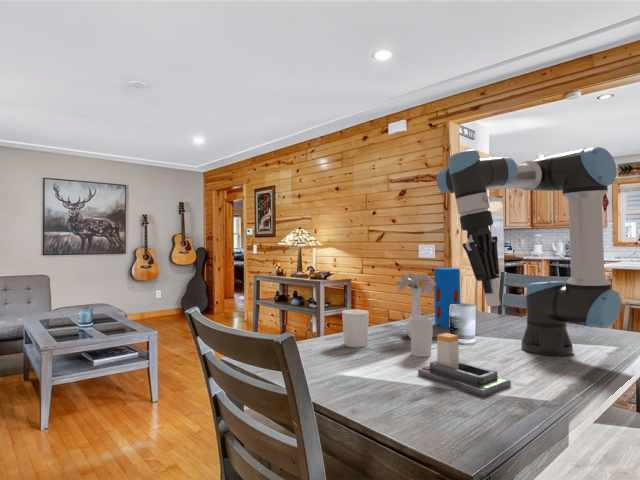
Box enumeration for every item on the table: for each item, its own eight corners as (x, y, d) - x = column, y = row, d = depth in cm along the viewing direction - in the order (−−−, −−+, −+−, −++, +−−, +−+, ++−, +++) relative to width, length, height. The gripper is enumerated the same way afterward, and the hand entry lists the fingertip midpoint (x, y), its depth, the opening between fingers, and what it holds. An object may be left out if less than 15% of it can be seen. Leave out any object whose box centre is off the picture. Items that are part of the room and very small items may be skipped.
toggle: (437, 368, 112) (437, 334, 112) (446, 366, 114) (446, 332, 114) (449, 372, 109) (449, 337, 109) (458, 369, 111) (458, 335, 111)
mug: (423, 358, 128) (423, 320, 128) (406, 354, 133) (405, 318, 133) (441, 352, 134) (440, 316, 134) (424, 349, 139) (423, 314, 139)
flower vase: (440, 333, 162) (439, 271, 162) (424, 343, 146) (423, 274, 146) (409, 330, 169) (408, 270, 169) (390, 339, 154) (390, 273, 154)
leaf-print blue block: (447, 329, 170) (446, 269, 170) (429, 324, 180) (428, 268, 180) (466, 326, 175) (465, 268, 175) (447, 322, 185) (447, 267, 185)
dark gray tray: (418, 374, 112) (418, 362, 112) (445, 366, 119) (445, 354, 119) (483, 396, 96) (483, 382, 96) (510, 385, 103) (510, 372, 103)
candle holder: (338, 346, 144) (338, 313, 144) (347, 340, 153) (346, 308, 153) (365, 349, 140) (364, 314, 140) (372, 342, 149) (372, 310, 149)
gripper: (474, 211, 94) (495, 311, 93) (501, 207, 102) (520, 299, 102) (446, 217, 100) (466, 311, 99) (474, 213, 108) (492, 300, 107)
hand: (493, 305), depth 100 cm, fingers closed
